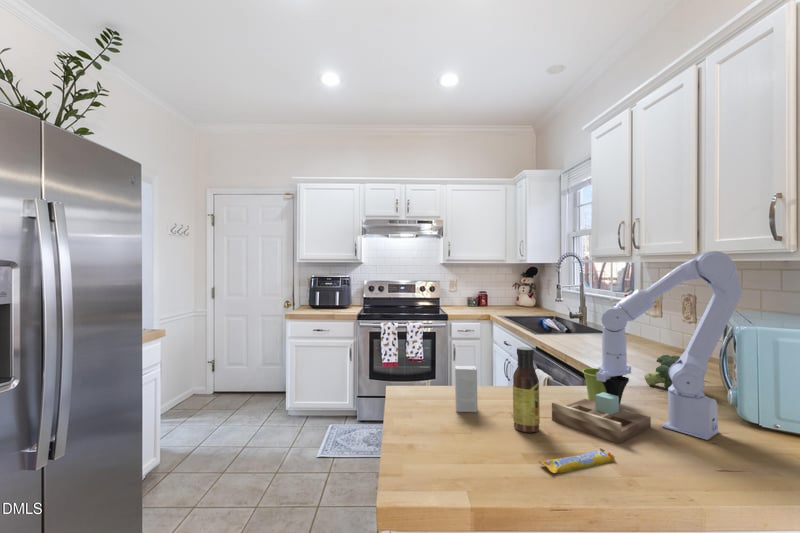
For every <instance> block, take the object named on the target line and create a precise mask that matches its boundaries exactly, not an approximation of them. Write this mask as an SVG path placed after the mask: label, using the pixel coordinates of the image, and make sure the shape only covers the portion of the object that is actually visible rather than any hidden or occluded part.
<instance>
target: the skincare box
mask: <svg viewBox="0 0 800 533" xmlns="http://www.w3.org/2000/svg"><path fill="white" fill-rule="evenodd" d="M476 367H477V366H475V365H454V380H455V381H454V386H455V387H454V388H455V390H454V391H455V412H456V413H478V410H479V408H478V407H479V406H478V369H477V368H476Z"/></svg>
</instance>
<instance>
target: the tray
mask: <svg viewBox="0 0 800 533" xmlns="http://www.w3.org/2000/svg"><path fill="white" fill-rule="evenodd" d="M651 418H652V417H651V416H647V415H644V414H641V413H638V412H633V411H630V410H628V409H627V410H626V409H624V408H620V407H619V412H617V413H614V414H612V415H610V414H607V413H603V412H600V411H596V410H595V401H591V400H589V399H587V398H584V399H581V400H578V401H575V402H572V403H570V404H569V403H568V404H566V405H564V404H562V403H558V402H555V401H553V402H551V421H553V422H557V423H559V424H563V425H565V426H568V427H571V428H573V429H576V430H580V431H581V432H585V433H588V434H590V435H593V436H596V437H599V438H601V439H605V440H607V441H610V442H613V443H616V444H618V443H619V444H618V445H621V443H624V442H625V441H627V440H629V439H631V438H633V437H635V436H636V435H639V434H640V433H643V432H644V431H646V430H648V429H650V428H652V424H651V423H652V422H651V421H652V419H651Z"/></svg>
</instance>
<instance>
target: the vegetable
mask: <svg viewBox="0 0 800 533" xmlns="http://www.w3.org/2000/svg"><path fill="white" fill-rule="evenodd" d="M679 358H680V355H679V356H678V355H669V354H663V355H661V356H659V357H657V359H656V363H659V364H660V365H659V366H656V367H655V372H650V373H645V374H644V380H645V382H646V383H647V386H650V387H651V386H656V385H657V384H663V385H664V386H663V387H664V389H666V390H668V388H669V387H670V386H671V385H672V380H671V379H670V377H669V368H670V367H671V366H672V365H673V364H674V363H676V362H677V361H678V360H679Z"/></svg>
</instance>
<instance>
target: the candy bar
mask: <svg viewBox="0 0 800 533" xmlns="http://www.w3.org/2000/svg"><path fill="white" fill-rule="evenodd" d="M605 452H606V450H605V449H603V448H599V449H598V450H596V451H591V452H587V453H582V454H579V455H573V456H566V457H560V458H553V459H549V460H545V461H541V460H538V463H540V464H541V465H543V466H544V467H545V468H546V469H547V470H548V471H549V472H550V473H552V474H556V473H557V474H558V473H560V474H561V473H568V472H571V471H576V470H581V469H585V468H590V467H593V466H599V465H603V464H604V465H605V464H607V463H612V462H615V461H616V459H615V457H616V456H615V455H613V454H612V453H611V452H610V451H608V452H607V454H606V453H605Z"/></svg>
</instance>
